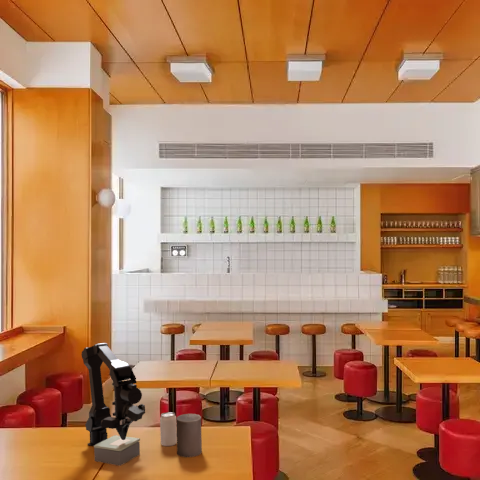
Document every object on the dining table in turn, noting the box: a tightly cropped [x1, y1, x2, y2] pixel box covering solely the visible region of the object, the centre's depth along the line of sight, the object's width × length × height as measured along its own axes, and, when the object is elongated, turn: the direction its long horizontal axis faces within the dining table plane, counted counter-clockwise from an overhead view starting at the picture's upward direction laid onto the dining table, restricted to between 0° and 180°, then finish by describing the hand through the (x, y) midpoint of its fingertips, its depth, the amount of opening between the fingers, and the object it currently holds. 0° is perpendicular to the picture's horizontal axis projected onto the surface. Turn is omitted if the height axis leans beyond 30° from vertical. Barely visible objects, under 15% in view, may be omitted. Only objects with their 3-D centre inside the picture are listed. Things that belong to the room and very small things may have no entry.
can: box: [159, 411, 177, 447], centre depth 232 cm, size 6×6×12 cm
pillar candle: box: [176, 413, 203, 458], centre depth 222 cm, size 10×10×15 cm
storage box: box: [93, 441, 141, 467], centre depth 219 cm, size 12×12×5 cm
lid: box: [93, 434, 141, 451], centre depth 219 cm, size 12×12×1 cm
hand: (123, 439), depth 218 cm, fingers closed
